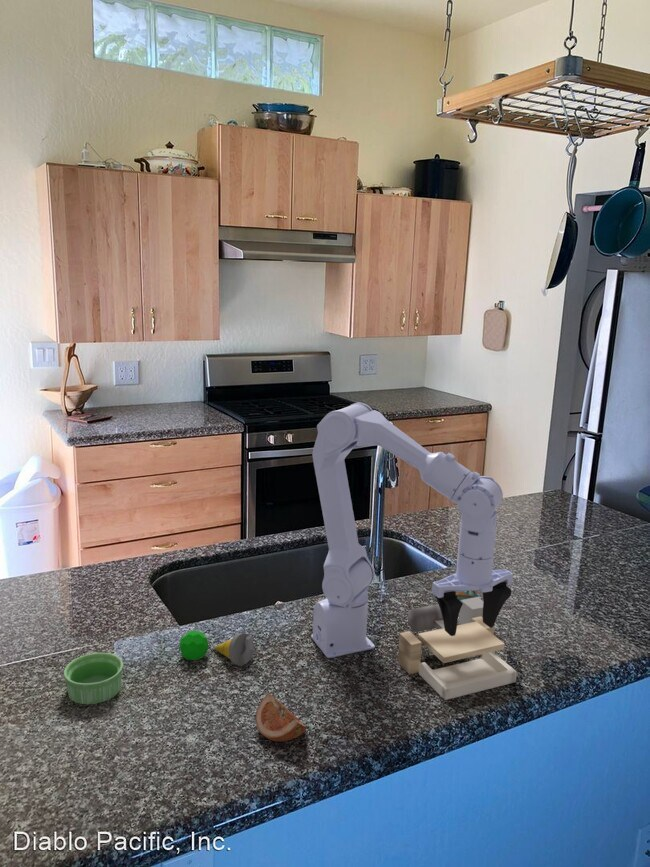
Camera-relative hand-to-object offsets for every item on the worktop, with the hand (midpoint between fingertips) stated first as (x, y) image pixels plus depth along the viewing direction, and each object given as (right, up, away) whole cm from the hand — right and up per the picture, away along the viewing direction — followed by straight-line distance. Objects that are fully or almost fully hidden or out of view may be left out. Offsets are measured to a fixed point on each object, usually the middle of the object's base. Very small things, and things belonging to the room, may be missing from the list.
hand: (469, 628), depth 114 cm
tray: (0, -9, +2) cm, 9 cm away
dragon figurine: (0, -2, +31) cm, 31 cm away
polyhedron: (-47, -7, +6) cm, 48 cm away
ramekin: (-61, -9, -4) cm, 62 cm away
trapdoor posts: (-3, -8, +8) cm, 11 cm away
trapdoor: (-2, -2, +6) cm, 7 cm away
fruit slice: (-30, -12, -13) cm, 35 cm away
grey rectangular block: (+5, -5, +20) cm, 21 cm away
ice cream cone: (-36, -4, +3) cm, 36 cm away
